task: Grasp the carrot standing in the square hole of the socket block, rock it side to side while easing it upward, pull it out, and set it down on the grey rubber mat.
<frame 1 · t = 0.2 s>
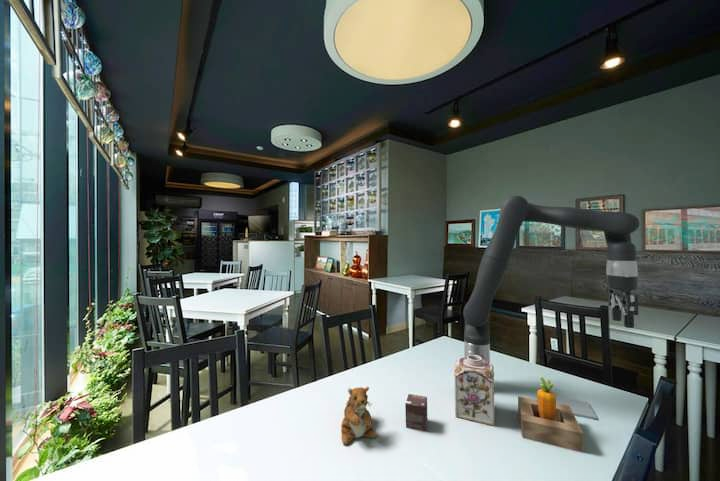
hand: (622, 323, 92), 29 cm above the table, fingers open, 8 cm apart
rubber mat: (573, 407, 95), on the table
socket block: (547, 429, 84), on the table
carrot: (547, 430, 84), resting in socket block
decorative jar: (474, 412, 93), on the table
box: (416, 424, 87), on the table
stuffed squirrel: (356, 429, 85), on the table
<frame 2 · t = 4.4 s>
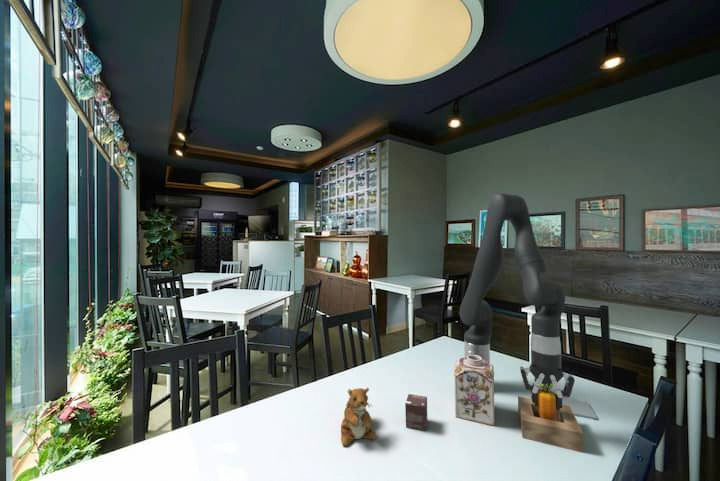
hand: (546, 406, 84), 7 cm above the table, fingers closed on carrot, 5 cm apart
carrot: (547, 430, 84), resting in socket block, touching gripper
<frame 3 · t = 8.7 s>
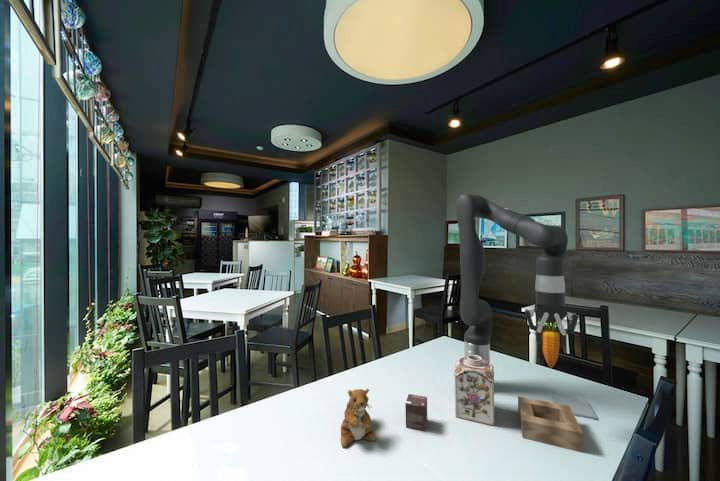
hand: (550, 345, 87), 24 cm above the table, fingers closed on carrot, 5 cm apart
carrot: (550, 368, 87), point 17 cm above the table, touching gripper
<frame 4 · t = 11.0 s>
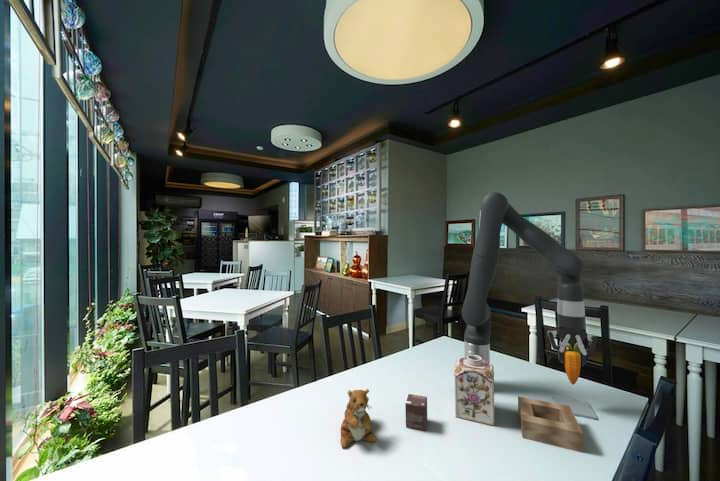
hand: (572, 363, 95), 15 cm above the table, fingers closed on carrot, 5 cm apart
carrot: (572, 384, 95), point 8 cm above the table, touching gripper
when the fingers open (8 cm above the table, at t = 12.9 s): carrot stays where it is, resting on rubber mat.
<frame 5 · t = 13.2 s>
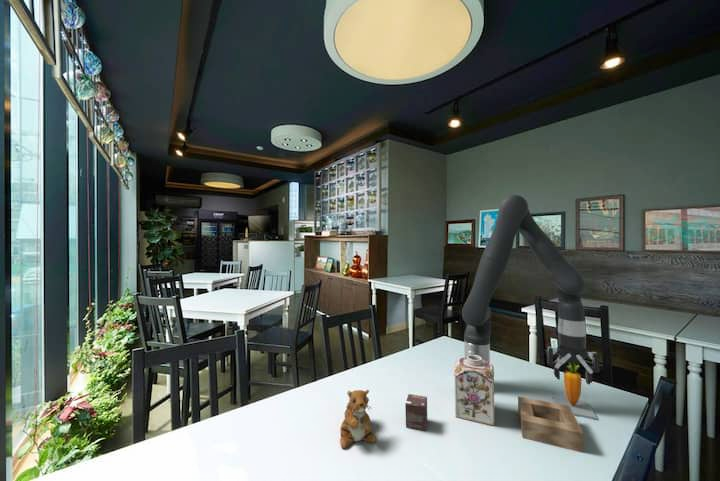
hand: (572, 380, 95), 9 cm above the table, fingers open, 8 cm apart
carrot: (572, 406, 95), resting on rubber mat
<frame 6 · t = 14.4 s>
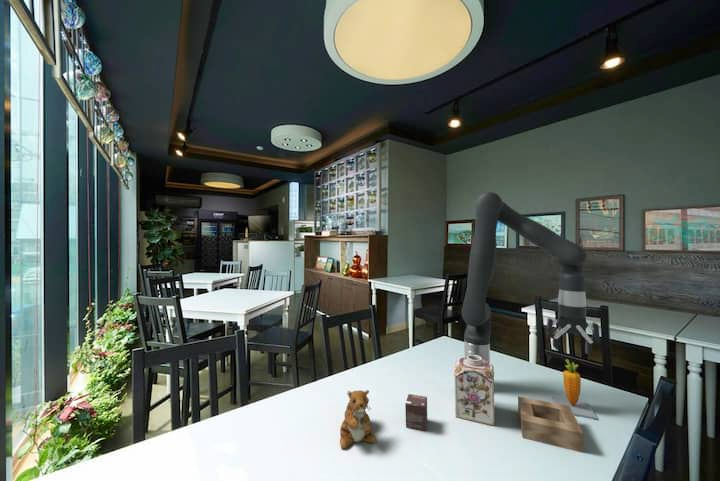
hand: (571, 351, 96), 19 cm above the table, fingers open, 8 cm apart
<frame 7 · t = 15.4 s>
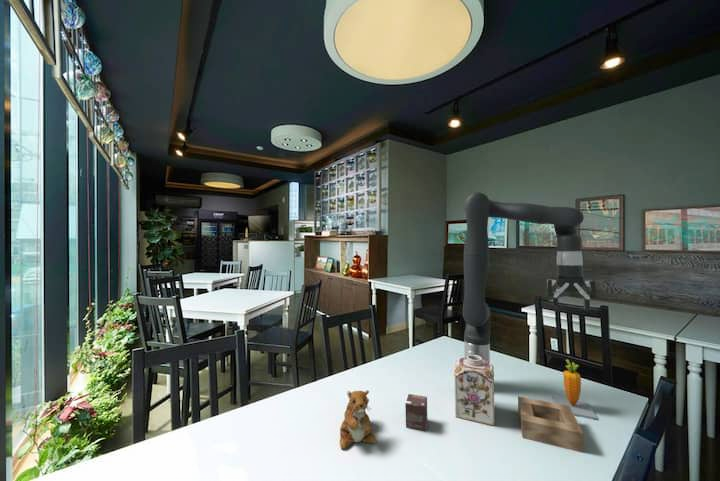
hand: (570, 308, 102), 32 cm above the table, fingers open, 8 cm apart
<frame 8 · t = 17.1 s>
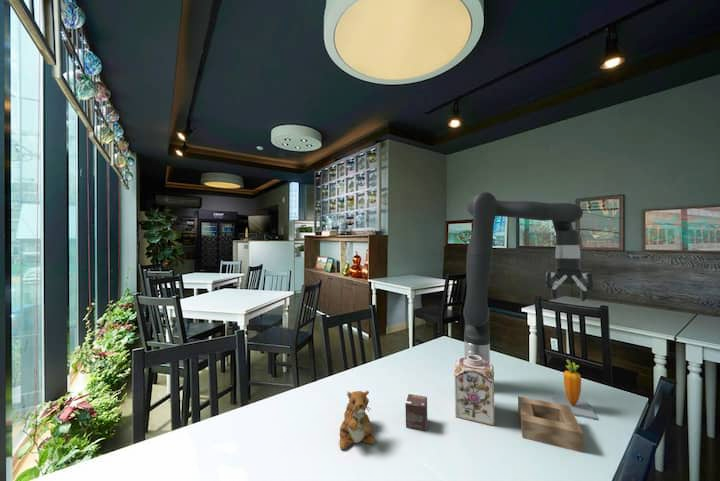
hand: (568, 300, 107), 34 cm above the table, fingers open, 8 cm apart
at the end: carrot inside the target area on the rubber mat (0.2 cm from its centre), point 0.4 cm above the rubber mat's base; carrot moved 19.6 cm from its start; the gripper is holding nothing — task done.
